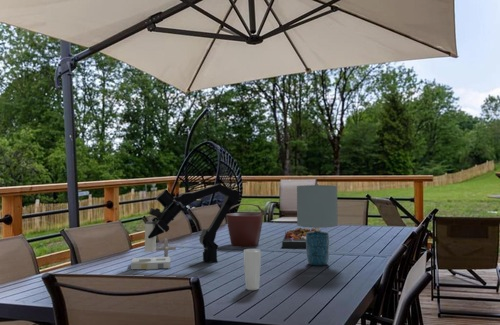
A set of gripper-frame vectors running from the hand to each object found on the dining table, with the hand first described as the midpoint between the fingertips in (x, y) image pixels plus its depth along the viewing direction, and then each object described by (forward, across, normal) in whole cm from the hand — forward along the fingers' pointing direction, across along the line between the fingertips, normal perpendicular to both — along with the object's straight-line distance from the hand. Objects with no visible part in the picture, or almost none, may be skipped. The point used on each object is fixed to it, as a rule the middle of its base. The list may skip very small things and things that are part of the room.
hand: (147, 237), depth 233 cm
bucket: (-36, -41, +55) cm, 78 cm away
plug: (+4, 0, +6) cm, 7 cm away
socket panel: (+9, +1, +11) cm, 14 cm away
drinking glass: (-12, +60, +32) cm, 69 cm away
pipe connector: (+1, -18, +19) cm, 26 cm away
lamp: (-45, +28, +64) cm, 83 cm away
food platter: (-63, -36, +82) cm, 109 cm away
